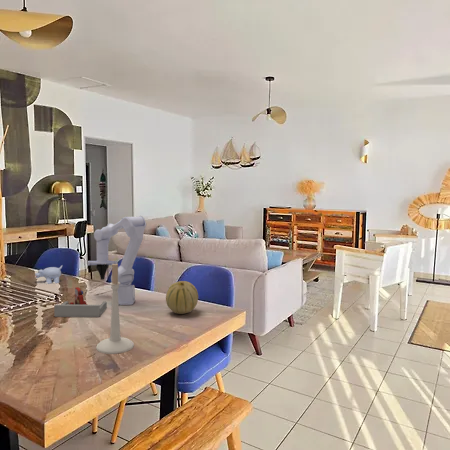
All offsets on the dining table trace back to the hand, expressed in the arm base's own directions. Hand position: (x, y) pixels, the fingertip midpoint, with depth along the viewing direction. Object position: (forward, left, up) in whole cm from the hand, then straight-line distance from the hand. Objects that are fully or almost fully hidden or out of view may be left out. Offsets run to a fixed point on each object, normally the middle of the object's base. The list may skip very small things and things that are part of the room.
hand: (102, 279), depth 209 cm
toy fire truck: (+4, +25, -10) cm, 27 cm away
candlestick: (-21, +66, -10) cm, 70 cm away
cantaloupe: (-42, +26, -10) cm, 50 cm away
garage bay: (+3, +26, -9) cm, 28 cm away
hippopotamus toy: (+40, -34, -10) cm, 53 cm away
